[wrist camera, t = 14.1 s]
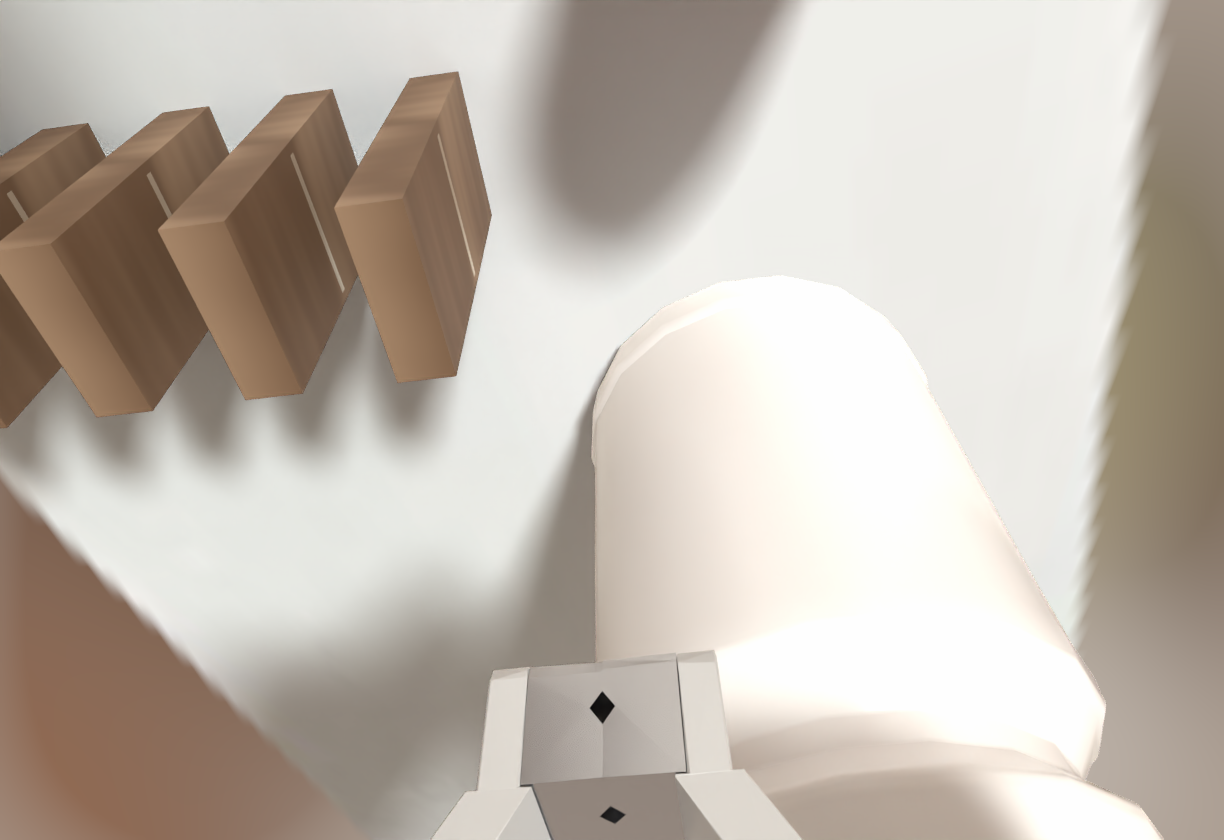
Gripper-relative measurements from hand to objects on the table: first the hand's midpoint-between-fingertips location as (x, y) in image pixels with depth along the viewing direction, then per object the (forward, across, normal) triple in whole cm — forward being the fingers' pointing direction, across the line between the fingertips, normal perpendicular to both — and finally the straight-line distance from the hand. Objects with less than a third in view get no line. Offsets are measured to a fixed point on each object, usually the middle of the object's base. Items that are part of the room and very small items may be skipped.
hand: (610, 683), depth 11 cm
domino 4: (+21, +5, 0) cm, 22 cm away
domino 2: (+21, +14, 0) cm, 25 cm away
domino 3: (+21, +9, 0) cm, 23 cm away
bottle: (+22, -5, +12) cm, 25 cm away
